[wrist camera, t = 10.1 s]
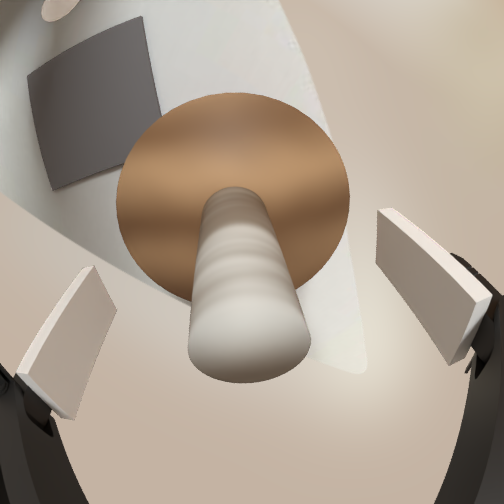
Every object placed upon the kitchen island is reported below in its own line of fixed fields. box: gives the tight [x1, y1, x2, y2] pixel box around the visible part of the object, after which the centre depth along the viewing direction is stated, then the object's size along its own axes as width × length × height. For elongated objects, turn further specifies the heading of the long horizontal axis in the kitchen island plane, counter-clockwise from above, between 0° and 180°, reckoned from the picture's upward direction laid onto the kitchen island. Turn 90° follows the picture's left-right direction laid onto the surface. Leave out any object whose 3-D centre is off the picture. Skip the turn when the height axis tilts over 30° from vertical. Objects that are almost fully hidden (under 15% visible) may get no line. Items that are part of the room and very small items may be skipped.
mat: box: [27, 16, 162, 191], centre depth 23 cm, size 16×16×1 cm
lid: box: [116, 93, 350, 383], centre depth 13 cm, size 15×15×11 cm
